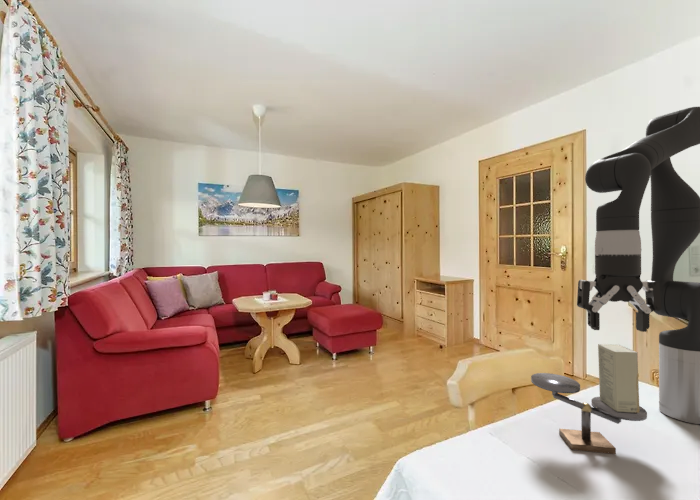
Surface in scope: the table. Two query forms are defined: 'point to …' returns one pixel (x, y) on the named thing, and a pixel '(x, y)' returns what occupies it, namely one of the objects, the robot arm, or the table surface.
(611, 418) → the balance
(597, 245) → the robot arm
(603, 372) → the skincare box
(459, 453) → the table surface
